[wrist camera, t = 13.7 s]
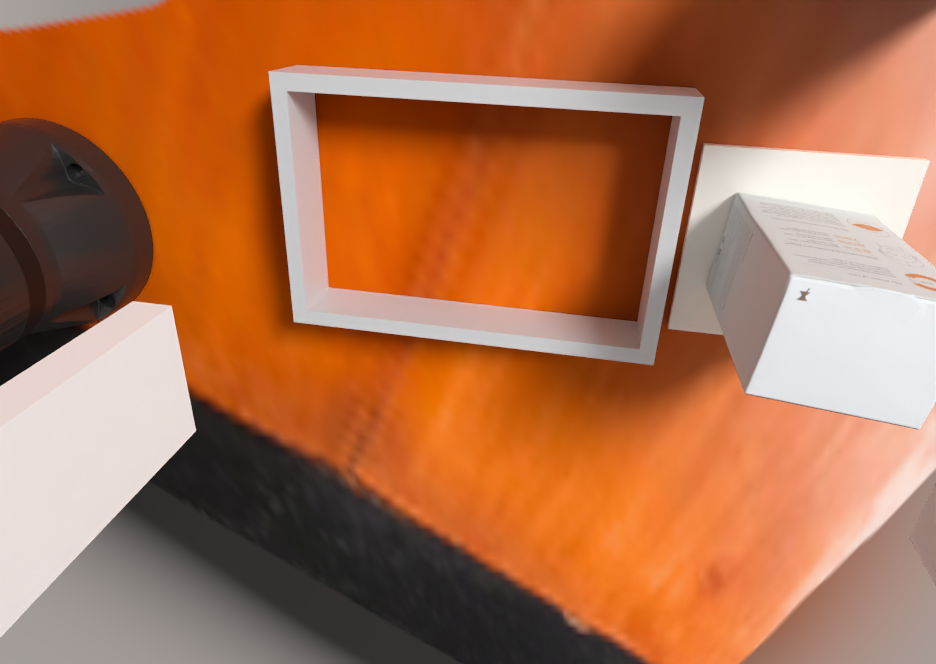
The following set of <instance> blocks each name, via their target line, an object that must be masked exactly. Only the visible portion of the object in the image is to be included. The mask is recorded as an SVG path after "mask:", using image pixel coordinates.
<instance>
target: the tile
mask: <svg viewBox="0 0 936 664" xmlns="http://www.w3.org/2000/svg"><path fill="white" fill-rule="evenodd" d="M929 162H930V161H929V160H928V159H926V158H912V157H898V156H883V155H869V154H855V153H840V152H826V151H811V150H797V149H783V148H768V147H754V146H740V145H725V144H711V143H703V147H702V152H701V157H700V162H699V167H698V172H697V177H696V182H695V187H694V193H693V198H692V203H691V208H690V213H689V218H688V223H687V228H686V233H685V238H684V243H683V249H682V254H681V259H680V264H679V269H678V274H677V279H676V284H675V289H674V294H673V299H672V304H671V310H670V315H669V320H668V329H673V330H682V331H691V332H700V333H709V334H718V335H723V332H722V330H721V327H720V325H719V322H718V319H717V316H716V314H715V311H714V308H713V305H712V302H711V299H710V297H709V294H708V291H707V288H706V283H707V280H708V277H709V274H710V271H711V269H712V266H713V263H714V260H715V257H716V254H717V251H718V248H719V245H720V242H721V239H722V236H723V233H724V230H725V227H726V224H727V221H728V218H729V215H730V212H731V209H732V206H733V203H734V200H735V197H736V194H737V193H746V194H753V195H759V196H765V197H771V198H777V199H783V200H788V201H794V202H800V203H806V204H812V205H817V206H823V207H829V208H834V209H840V210H845V211H851V212H856V213H862V214H867V215H872V216H875V217H876V218H877V219H878V220H880V221H881V222H882V223H883V224H884V225H885V226H887V227H888V228H889V229H890V230H891V231H893V232H894V233H895V234H896V235H897V236H898V237H900V238H901V239H902V238H903V235H904V232H905V229H906V226H907V224H908V221H909V218H910V215H911V212H912V210H913V207H914V204H915V201H916V199H917V196H918V193H919V190H920V187H921V185H922V182H923V179H924V176H925V174H926V171H927V168H928V165H929Z"/></svg>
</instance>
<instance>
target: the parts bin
mask: <svg viewBox="0 0 936 664" xmlns="http://www.w3.org/2000/svg"><path fill="white" fill-rule="evenodd" d="M268 72H269V82H270V92H271V101H272V111H273V121H274V131H275V141H276V151H277V161H278V171H279V181H280V190H281V200H282V210H283V220H284V230H285V240H286V250H287V260H288V270H289V279H290V289H291V299H292V309H293V319H294V322H298V323H306V324H314V325H323V326H331V327H339V328H348V329H356V330H364V331H372V332H381V333H389V334H397V335H406V336H414V337H422V338H431V339H439V340H447V341H455V342H464V343H472V344H480V345H489V346H497V347H505V348H514V349H522V350H530V351H539V352H547V353H555V354H563V355H572V356H580V357H588V358H597V359H605V360H613V361H622V362H630V363H638V364H646V365H654V360H655V355H656V349H657V344H658V339H659V334H660V329H661V323H662V318H663V313H664V308H665V302H666V297H667V292H668V287H669V282H670V276H671V271H672V266H673V261H674V255H675V250H676V245H677V240H678V235H679V229H680V224H681V219H682V214H683V208H684V203H685V198H686V193H687V188H688V182H689V177H690V172H691V167H692V161H693V156H694V151H695V146H696V141H697V135H698V130H699V125H700V120H701V115H702V109H703V104H704V99H705V97H704V96H703V95H702V94H701V93H700V92H699V91H698V90H697V89H696V88H689V87H672V86H654V85H637V84H620V83H602V82H585V81H567V80H550V79H532V78H515V77H497V76H480V75H463V74H445V73H428V72H410V71H393V70H375V69H358V68H341V67H323V66H306V65H295V66H291V67H286V68H282V69H277V70H273V71H268ZM315 93H325V94H340V95H356V96H372V97H387V98H403V99H419V100H434V101H450V102H466V103H481V104H497V105H512V106H528V107H544V108H559V109H575V110H591V111H606V112H622V113H638V114H653V115H669V116H672V122H671V127H670V133H669V139H668V145H667V151H666V156H665V162H664V168H663V174H662V180H661V186H660V191H659V197H658V203H657V209H656V215H655V220H654V226H653V232H652V238H651V244H650V250H649V255H648V261H647V267H646V273H645V279H644V284H643V290H642V296H641V302H640V308H639V314H638V319H637V322H636V321H627V320H618V319H609V318H600V317H591V316H582V315H573V314H564V313H555V312H546V311H537V310H528V309H519V308H510V307H501V306H492V305H483V304H474V303H465V302H456V301H447V300H438V299H429V298H420V297H411V296H402V295H393V294H384V293H375V292H366V291H357V290H348V289H339V288H330V287H329V286H328V272H327V258H326V244H325V230H324V216H323V202H322V188H321V174H320V160H319V146H318V132H317V118H316V104H315Z"/></svg>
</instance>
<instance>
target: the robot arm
mask: <svg viewBox="0 0 936 664" xmlns="http://www.w3.org/2000/svg"><path fill="white" fill-rule="evenodd" d="M152 261H153V241H152V234H151V229H150V225H149V221H148V218H147V215H146V212H145V210H144V207H143V205H142V203H141V201H140V199H139V197H138V195H137V193H136V191H135V190H134V188H133V186H132V185H131V183H130V182H129V180H128V179H127V177H126V176H125V175H124V173H123V172H122V171H121V170H120V169H119V167H118V166H117V165H116V164H115V163H114V162H113V161H112V160H111V159H110V158H109V157H108V156H107V155H106V154H105V153H104V152H103V151H102V150H101V149H100V148H98V147H97V146H96V145H95V144H93V143H92V142H91V141H89V140H88V139H86V138H85V137H83V136H82V135H80V134H78V133H77V132H75V131H73V130H71V129H69V128H67V127H64V126H62V125H59V124H56V123H53V122H50V121H46V120H41V119H34V118H18V119H12V120H7V121H2V122H0V351H2V350H4V349H5V348H7V347H9V346H10V345H12V344H13V343H15V342H17V341H19V340H20V339H22V338H24V337H26V336H27V335H29V334H33V333H38V332H44V331H49V330H55V329H60V328H65V327H71V326H76V325H82V324H87V323H91V322H95V321H98V320H101V319H103V318H105V317H108V316H109V315H111V314H112V315H111V316H109V317H108V318H106V319H104V320H103V321H101V322H100V323H98V324H97V325H95V326H94V327H92V328H90V329H89V330H87V331H86V332H84V333H83V334H81V335H80V336H78V337H76V338H75V339H73V340H72V341H70V342H69V343H67V344H66V345H64V346H62V347H61V348H59V349H58V350H56V351H55V352H53V353H51V354H50V355H48V356H47V357H45V358H44V359H42V360H41V361H39V362H37V363H36V364H34V365H33V366H31V367H30V368H28V369H27V370H25V371H23V372H22V373H20V374H19V375H17V376H16V377H14V378H13V379H11V380H9V381H8V382H6V383H5V384H3V385H2V386H0V637H1V636H2V635H3V634H4V633H5V632H6V631H7V630H8V629H9V628H10V627H11V625H13V624H14V622H15V621H16V620H17V619H18V618H19V617H20V616H21V615H22V614H23V613H24V612H25V611H26V610H27V609H28V608H29V607H30V605H31V604H32V603H33V602H34V601H35V600H36V599H37V598H38V597H39V596H40V595H41V594H42V593H43V592H44V591H45V590H46V589H47V587H49V586H50V584H51V583H52V582H53V581H54V580H55V579H56V578H57V577H58V576H59V575H60V574H61V573H62V572H63V571H64V569H66V567H68V565H69V564H70V563H71V562H72V561H73V560H74V559H75V558H76V557H77V556H78V555H79V554H80V553H81V552H82V551H83V550H84V549H85V547H86V546H87V545H88V544H89V543H90V542H91V541H92V540H93V539H94V538H95V537H96V536H97V535H98V534H99V533H100V532H101V531H102V529H103V528H104V527H105V526H106V525H107V524H108V523H109V522H110V521H111V520H112V519H113V518H114V517H115V516H116V515H117V513H119V512H120V511H121V509H122V508H123V507H124V506H125V505H126V504H127V503H128V502H129V501H130V500H131V499H132V498H133V497H134V496H135V495H136V494H137V493H138V492H139V490H140V489H141V488H142V487H143V486H144V485H145V484H146V483H147V482H148V481H149V480H150V479H151V478H152V477H153V476H154V475H155V474H156V473H157V471H158V470H159V469H160V468H161V467H162V466H163V465H164V464H165V463H166V462H167V461H168V460H169V459H170V458H171V457H172V456H173V455H174V454H175V452H176V451H177V450H178V449H179V448H180V447H181V446H182V445H183V444H184V443H185V442H186V441H187V440H188V439H189V438H190V437H191V436H192V435H193V433H194V432H195V431H196V428H195V423H194V418H193V413H192V408H191V403H190V398H189V393H188V387H187V382H186V377H185V372H184V367H183V362H182V357H181V352H180V347H179V342H178V336H177V331H176V326H175V321H174V316H173V311H172V306H169V305H161V304H152V303H144V302H136V301H133V300H134V299H135V298H136V297H137V296H138V295H139V293H140V292H141V291H142V289H143V288H144V286H145V284H146V282H147V280H148V278H149V275H150V272H151V268H152ZM131 301H132V302H131ZM130 302H131V303H130ZM128 303H129V304H128ZM127 304H128V305H127ZM125 305H126V306H125ZM124 306H125V307H124ZM122 307H123V308H122ZM121 308H122V309H121ZM119 309H120V310H119ZM116 311H117V312H116ZM114 312H115V313H114ZM113 313H114V314H113ZM910 540H911V542H912V544H913V545H914V548H915V549H916V551H917V553H918V555H919V557H920V558H921V560H922V562H923V564H924V566H925V567H926V569H927V571H928V573H929V574H930V576H931V578H932V580H933V582H934V583H935V585H936V483H935V485H934V487H933V489H932V492H931V493H930V496H929V498H928V500H927V502H926V504H925V506H924V508H923V510H922V513H921V515H920V517H919V519H918V521H917V523H916V525H915V528H914V530H913V532H912V534H911V536H910Z"/></svg>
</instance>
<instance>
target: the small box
mask: <svg viewBox="0 0 936 664" xmlns="http://www.w3.org/2000/svg"><path fill="white" fill-rule="evenodd" d="M706 288H707V291H708V294H709V297H710V299H711V302H712V305H713V308H714V311H715V314H716V316H717V319H718V322H719V325H720V327H721V330H722V332H723V335H724V338H725V341H726V343H727V346H728V349H729V351H730V354H731V357H732V360H733V363H734V365H735V368H736V371H737V373H738V376H739V379H740V381H741V384H742V387H743V389H744V393H745V394H747V395H752V396H757V397H762V398H767V399H772V400H777V401H782V402H786V403H791V404H796V405H801V406H806V407H811V408H816V409H821V410H826V411H830V412H835V413H840V414H845V415H850V416H855V417H860V418H865V419H870V420H875V421H880V422H884V423H889V424H894V425H899V426H904V427H909V428H914V429H917V430H918V429H920V428H921V426H922V425H923V423H924V421H925V419H926V418H927V416H928V414H929V413H930V411H931V409H932V408H933V406H934V404H935V402H936V267H935V266H933V265H932V264H931V263H930V262H929V261H927V260H926V259H925V258H924V257H923V256H921V255H920V254H919V253H918V252H917V251H915V250H914V249H913V248H912V247H910V246H909V245H908V244H907V243H906V242H904V241H903V240H902V239H901V238H900V237H898V236H897V235H896V234H895V233H894V232H893V231H891V230H890V229H889V228H888V227H887V226H885V225H884V224H883V223H882V222H881V221H880V220H878V219H877V218H876V217H875V216H872V215H867V214H862V213H856V212H851V211H845V210H840V209H834V208H829V207H823V206H817V205H812V204H806V203H800V202H794V201H788V200H783V199H777V198H771V197H765V196H759V195H753V194H746V193H737V194H736V197H735V200H734V203H733V206H732V209H731V212H730V215H729V218H728V221H727V224H726V227H725V230H724V233H723V236H722V239H721V242H720V245H719V248H718V251H717V254H716V257H715V260H714V263H713V266H712V269H711V271H710V274H709V277H708V280H707V283H706Z"/></svg>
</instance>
